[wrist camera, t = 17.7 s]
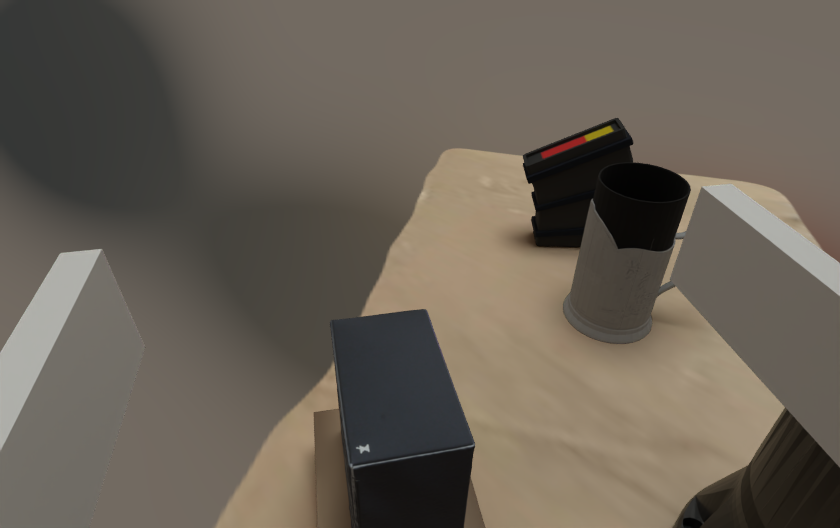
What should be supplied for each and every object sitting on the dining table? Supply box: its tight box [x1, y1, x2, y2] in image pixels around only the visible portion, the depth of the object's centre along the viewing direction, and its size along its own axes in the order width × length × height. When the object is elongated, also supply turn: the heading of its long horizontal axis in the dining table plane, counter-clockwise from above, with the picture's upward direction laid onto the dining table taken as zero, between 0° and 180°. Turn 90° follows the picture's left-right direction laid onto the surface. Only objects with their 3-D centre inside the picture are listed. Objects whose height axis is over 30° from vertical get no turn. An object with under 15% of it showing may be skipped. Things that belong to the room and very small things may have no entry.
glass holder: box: [563, 162, 691, 344], centre depth 50 cm, size 9×14×15 cm, turn 87°
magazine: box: [523, 118, 633, 247], centre depth 62 cm, size 4×13×15 cm, turn 88°
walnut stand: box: [314, 409, 485, 528], centre depth 36 cm, size 10×14×4 cm
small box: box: [330, 309, 475, 528], centre depth 32 cm, size 11×6×10 cm, turn 13°
